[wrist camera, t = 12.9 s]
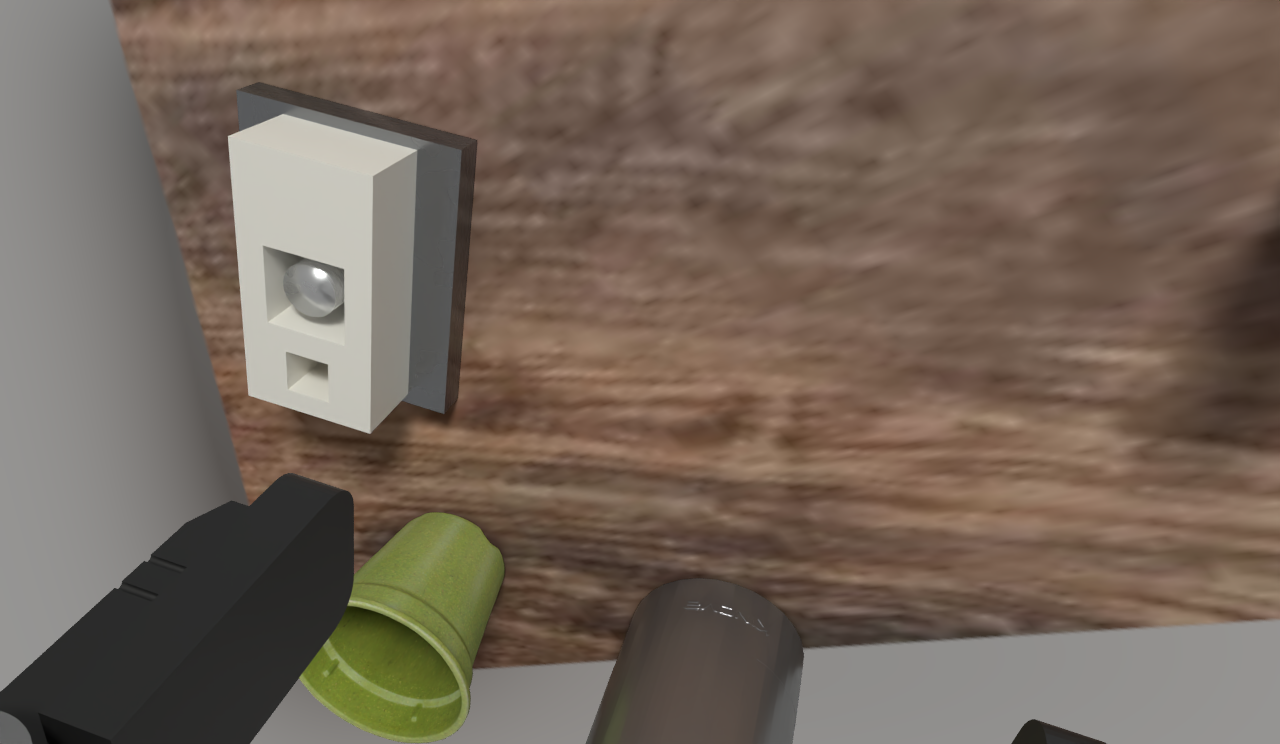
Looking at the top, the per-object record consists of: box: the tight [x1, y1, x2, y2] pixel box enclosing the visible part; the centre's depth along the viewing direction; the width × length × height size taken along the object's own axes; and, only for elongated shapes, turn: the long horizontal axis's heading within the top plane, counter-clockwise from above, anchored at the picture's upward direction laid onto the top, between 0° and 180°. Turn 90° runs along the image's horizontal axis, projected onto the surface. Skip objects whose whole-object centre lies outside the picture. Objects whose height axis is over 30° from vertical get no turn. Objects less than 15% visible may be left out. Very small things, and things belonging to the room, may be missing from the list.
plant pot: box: [299, 512, 504, 743], centre depth 45 cm, size 9×9×9 cm
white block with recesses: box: [228, 114, 417, 434], centre depth 38 cm, size 12×6×4 cm, turn 169°
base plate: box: [237, 82, 477, 414], centre depth 38 cm, size 13×10×4 cm
